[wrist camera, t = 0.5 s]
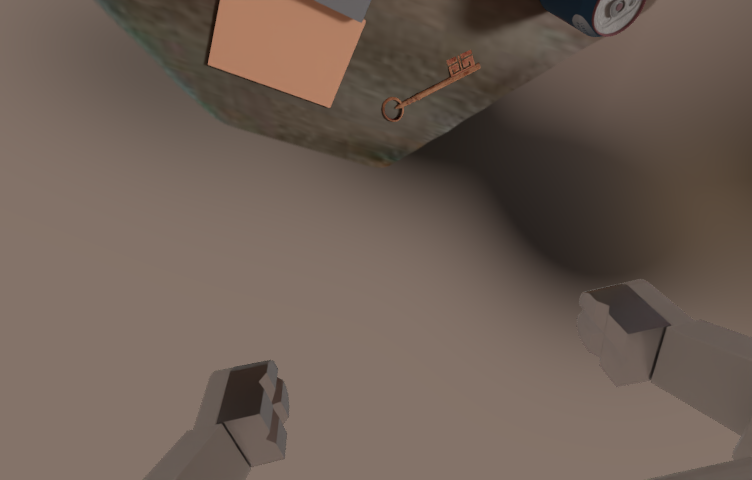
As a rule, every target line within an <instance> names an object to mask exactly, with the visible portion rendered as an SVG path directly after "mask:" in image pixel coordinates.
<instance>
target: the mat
mask: <svg viewBox="0 0 752 480" xmlns="http://www.w3.org/2000/svg"><path fill="white" fill-rule="evenodd" d="M365 23H366V20H365V19H363V21H362V23H360V22H358V21H356V20H354V19H352V18H350V17H348V16H346V15H344V14H341V13H339V12H337V11H335V10H333V9H331V8H329V7H327V6H325V5H323V4H321V3H318V2H316V1H314V0H220V3H219V8H218V13H217V18H216V24H215V29H214V34H213V39H212V45H211V50H210V55H209V60H208V65H210V66H213V67H215V68H218V69H221V70H224V71H227V72H229V73H232V74H235V75H238V76H241V77H244V78H246V79H249V80H252V81H255V82H258V83H261V84H263V85H266V86H269V87H272V88H275V89H277V90H280V91H283V92H286V93H289V94H292V95H294V96H297V97H300V98H303V99H306V100H309V101H311V102H314V103H317V104H320V105H323V106H325V107H328V108H330V107H331V105H332V102H333V100H334V97H335V95H336V93H337V90H338V88H339V85H340V83H341V80H342V78H343V76H344V73H345V71H346V68H347V66H348V64H349V61H350V59H351V56H352V54H353V52H354V49H355V47H356V44H357V42H358V40H359V37H360V35H361V32H362V30H363V28H364V25H365Z"/></svg>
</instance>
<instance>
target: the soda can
mask: <svg viewBox="0 0 752 480" xmlns="http://www.w3.org/2000/svg"><path fill="white" fill-rule="evenodd" d="M540 2H541V4H542V6H543V7H544V8H545V9H546V10H547V11H549V12H550V13H552V14H554V15H555V16H557V17H558V18H560V19H562V20H563V21H565V22H567V23H568V24H570V25H572V26H573V27H575V28H576V29H578V30H580V31H581V32H583V33H585V34H586V35H588V36H592V37H600V36H605V37H608V36H613V35H616V34H618V33H620V32H622V31H623V30H625V29H626V28H627V27H629V26H630V25H631V24H632V23H633V22H634V21H635V19H636V18H637V17H638V16H639V14H640V13H641V11H642V9H643V7H644V5H645V2H646V0H540Z"/></svg>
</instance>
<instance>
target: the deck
mask: <svg viewBox="0 0 752 480" xmlns="http://www.w3.org/2000/svg"><path fill="white" fill-rule="evenodd" d="M314 1H316V2H318V3H321V4H323V5H325V6H327V7H329V8H331V9H333V10H335V11H337V12H339V13H341V14H344V15H346V16H348V17H350V18H352V19H354V20H356V21H358V22H360V23H362V21H363V19H364V16H365V14H366V11H367V9H368V6H369V4H370V2H371V0H314Z"/></svg>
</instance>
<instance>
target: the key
mask: <svg viewBox="0 0 752 480" xmlns="http://www.w3.org/2000/svg"><path fill="white" fill-rule="evenodd" d="M470 54H472V51H471V50H469V51H467V52H465V53H463V54H460V56H461V59H462V58H464V57H466V56H468V55H470ZM458 60H459V64H460V68H461V70H460V71H458V70H459V66H458V63H456V64H454V65H452V66H450V67H448V68H449V71H450V75H451V77H449V78H447V79H445V80H444V81H442V82H440V83H438V84H436V85H434V86H432V87H430V88H428V89H426V90H424V91H422V92H420V93H417V94H416V95H415V96H412V97H411V98H409V99H406V100H405V101H403V102H401V101H400V100H399V99H398V98H396V97H390V98H388V99H386V100H385V101H384V103H383V105H382V111H383V114H384V116H385V117H386V119H388V120H389V121H392V122H395V121H398V120H400V119H401V118H402V116H403V113H404V106H406V105H409V104H410V103H412V102H415V101H416V100H421V98H423V97H425V96H427V95H429V94H431V93H433V92H435V91H437V90H439V89H441V88H443V87H445V86H447V85H449V84H451V83H452V82H454V81H456V80H458V79H460V78H462V77H464V76H466V75H468V74H470V73H472V72H474V71H476V70H478V69H480V64H479V63H477V64H475V63H474V59H473V55H471V56H469V57H467V58H465V59H463V60H462V64H463V67H466V66H468V65H469V63H468V62H469V61H470V64H471V65H470V66H468V67H466V68H464V69H462V66H461V62H460V59H459V55H458ZM455 62H457V59H456V57H454V58H452V59H449V60H447V64H448V66H449V65H451V64H453V63H455ZM452 70H453V71H454V72H456V71H458V72H456V73H454V74H453V73H452ZM390 100H396V101H398V102H399V104H398V105H397V106H396V107H395V108H396V109H398V108H402V112H401V115H400V116H399V117H398V118H396V119H390V118H388V117H387V116H386V114H385V111H384V108H385V105H386V103H387V102H388V101H390Z"/></svg>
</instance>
